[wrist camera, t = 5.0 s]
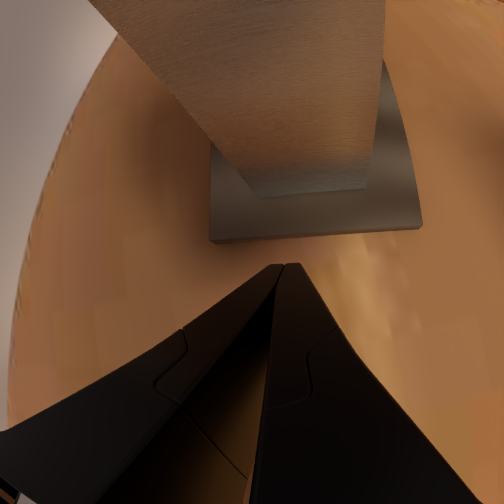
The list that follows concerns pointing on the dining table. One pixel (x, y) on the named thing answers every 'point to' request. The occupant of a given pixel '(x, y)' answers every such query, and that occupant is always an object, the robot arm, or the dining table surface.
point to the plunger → (269, 81)
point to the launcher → (324, 193)
